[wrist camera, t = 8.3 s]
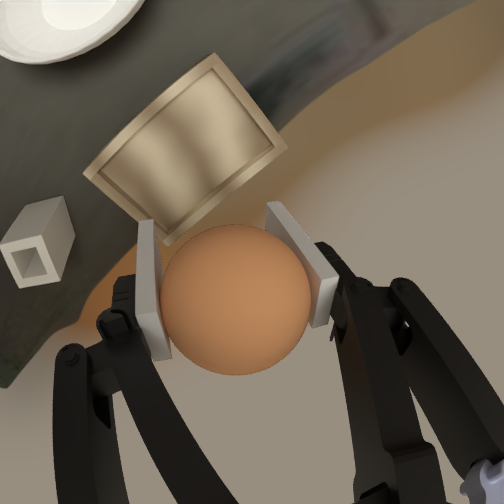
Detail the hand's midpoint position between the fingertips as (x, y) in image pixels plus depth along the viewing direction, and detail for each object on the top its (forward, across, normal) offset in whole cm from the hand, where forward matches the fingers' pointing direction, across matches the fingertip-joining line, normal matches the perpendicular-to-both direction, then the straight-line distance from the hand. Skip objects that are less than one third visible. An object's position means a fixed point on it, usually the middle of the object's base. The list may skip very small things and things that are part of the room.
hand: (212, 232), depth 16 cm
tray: (+16, 0, 0) cm, 16 cm away
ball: (-5, 0, 0) cm, 5 cm away
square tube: (+16, -16, -5) cm, 23 cm away
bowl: (+16, -9, +18) cm, 26 cm away
